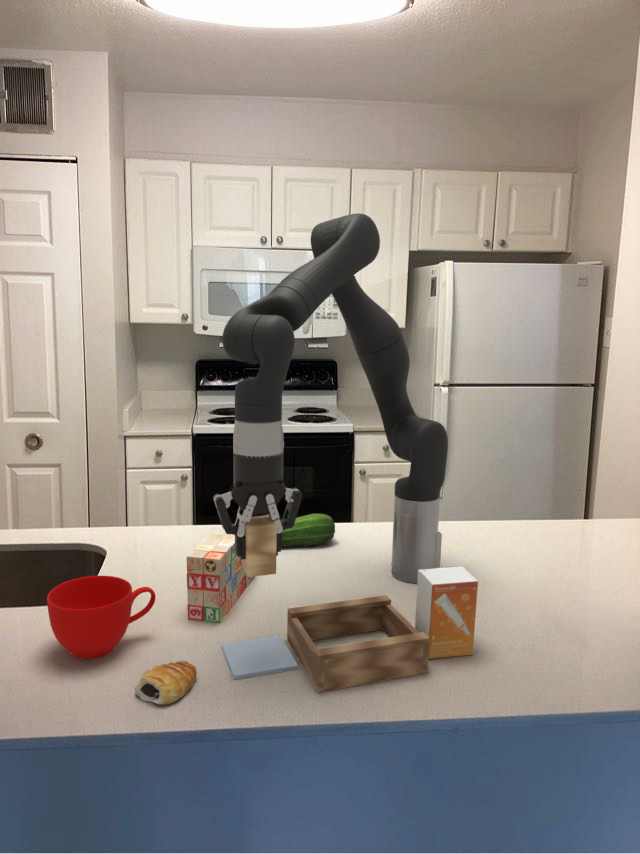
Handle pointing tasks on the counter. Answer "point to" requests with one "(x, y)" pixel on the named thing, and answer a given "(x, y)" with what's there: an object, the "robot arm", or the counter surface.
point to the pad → (258, 657)
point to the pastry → (166, 682)
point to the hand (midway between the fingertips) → (258, 555)
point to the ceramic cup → (93, 613)
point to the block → (260, 547)
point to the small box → (447, 610)
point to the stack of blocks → (214, 578)
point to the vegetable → (309, 531)
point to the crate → (360, 659)
